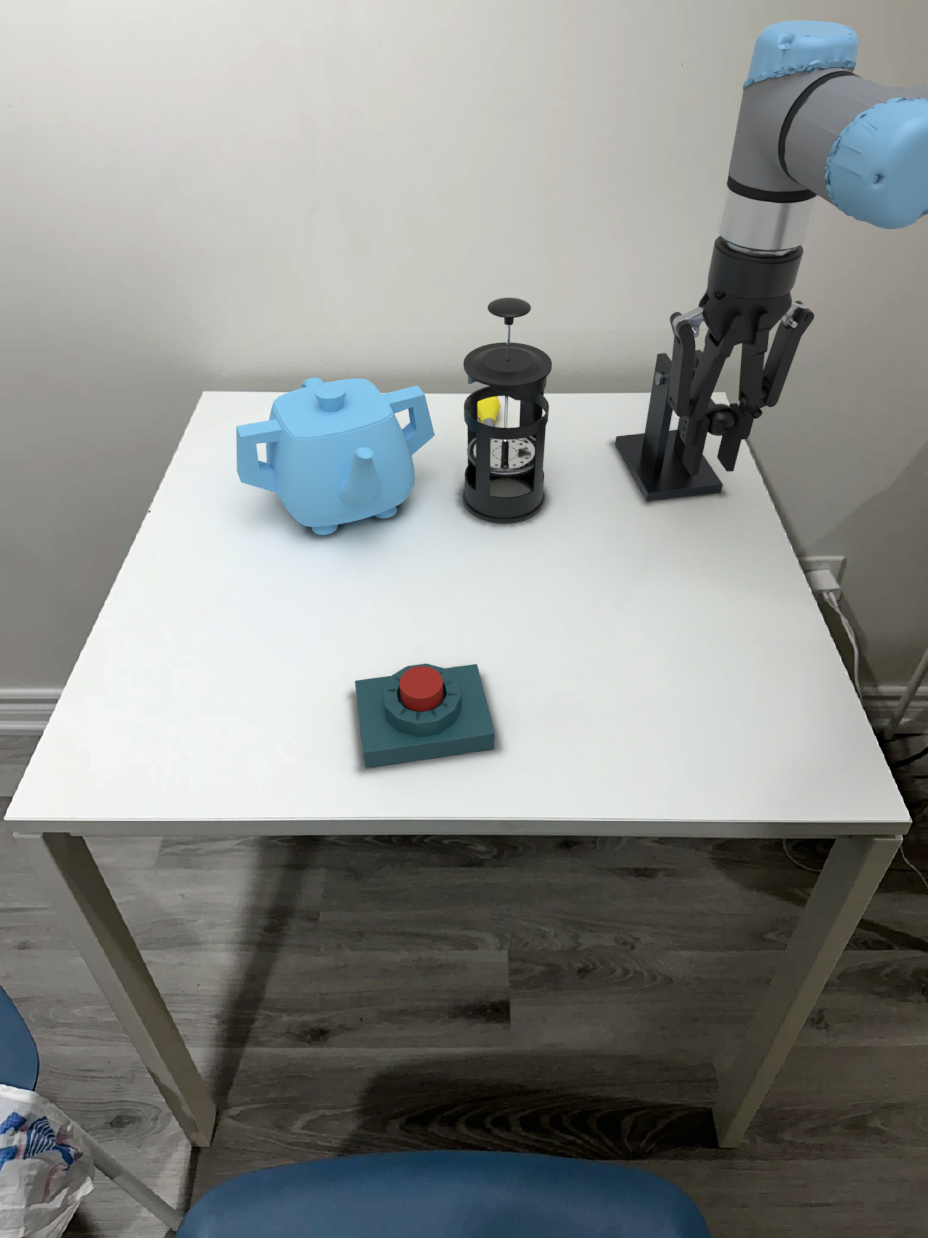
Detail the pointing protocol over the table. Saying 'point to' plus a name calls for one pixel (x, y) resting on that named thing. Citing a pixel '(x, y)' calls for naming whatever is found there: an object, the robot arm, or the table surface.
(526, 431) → the french press
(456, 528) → the table surface
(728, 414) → the switch lever
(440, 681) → the stop button
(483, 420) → the light bulb
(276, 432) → the teapot
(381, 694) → the button box
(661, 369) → the ball knob lever stand
